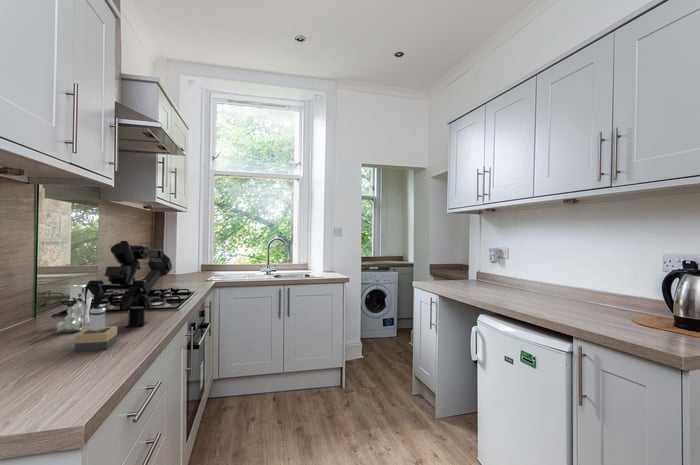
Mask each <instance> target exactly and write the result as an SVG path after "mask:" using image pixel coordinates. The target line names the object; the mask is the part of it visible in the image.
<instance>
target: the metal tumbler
mask: <svg viewBox="0 0 700 465" xmlns="http://www.w3.org/2000/svg"><path fill="white" fill-rule="evenodd" d="M106 314H107V309H106V307H97V308H94V307H92V308H90V310H89V318H90V322H89V328H90V334H91V333H105V327H106V316H107V315H106Z"/></svg>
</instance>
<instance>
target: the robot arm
mask: <svg viewBox="0 0 700 465" xmlns="http://www.w3.org/2000/svg"><path fill="white" fill-rule="evenodd" d="M110 252H111V254H112V256H113V257H114V259H115V261H116V262H117V263H118V264H120V265H119V266H106V269H105V272H104V276H105V277H107V278H108V279H107V281H108V282H109V283H105V282H104V281H103V280H102V279H100V280H99V279H98V280H97V279H96V280H94V279H91V280H89V281H88V282H87V283H86V284H85V285H86V287H87V288H88V289H89V291H90V292H91V293H92V296H93V307H92V308H99V305H100V304H101V302H103V299H104V298H105V296H106V295H105V294H106V293H107V292H108V291H111V290H113V291H124V293H123V294H122V296H121V297H120V303H121V304H120V305H121V310H122V311H123V312H124V311H127V314H128V315H127V323H126V324H125V325H124V328H130V327H131V328H132V327H133V328H134V327H144V326H145V325H146V324H147V323H148V320H146V311H147V310H151V307H152V301H151V299H150V297H149V292H150V291H151V289H152V288H153V287H154V286H155V285H156V284H157V282H158V281H159V280H160V279H161V277H164V276H167V275H168V274H169V273H170V272H171V271H172V270H173V264H172V260H171V258H170V257H169V256H168V255H167V254H165V252H164V250H163V249H159V248H149V246H147V245H146V244H145V245H143V244H141V245H139V244H137V245H136V244H135V245H134V244H129V240H121V241H120V242H118V243H116V244H114V245H113V246H111V248H110ZM147 259H149V261H148V262H147V264H148V268H149V272H148V273H147V274H146V275H145V276H144V277H143V279H136V277H135V275H136V273H137V271H138V270H141V268H142V267H141V265H140V261H144V260H147ZM154 259H160V260H154ZM135 279H136V280H135Z"/></svg>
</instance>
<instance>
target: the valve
mask: <svg viewBox="0 0 700 465" xmlns="http://www.w3.org/2000/svg"><path fill="white" fill-rule="evenodd" d="M58 301H59V304H60V305H61V304H63V305H64V306H66V307H67V308H68V309H66V313H67V314H66V316H65V317H64V320H65V321H59V322H58V323H57V325H56V332H57V333H72V332H74V331H75V332H82V330H83V325H84V324H83V322H82V321H81V320H80V321H74V319H75V317H76V316H74V315H73V314H72V313H74V309H72V307H73V306H74V305H75V304H76V303H77V301H79V302H82V299H81V298H77V299H75V298H72V299H70V298H68V297H67V298H64V299H59V300H58Z"/></svg>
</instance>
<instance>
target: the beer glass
mask: <svg viewBox="0 0 700 465" xmlns="http://www.w3.org/2000/svg"><path fill="white" fill-rule="evenodd" d="M86 285H87V284H76V285H72V286H71V285H70V291H69V299H72V298H75V299H77V298H81V299H82V302H79V301H77V303H76V304H75V305H74V306H73V307H72V309H74V313H72V314H73V315H74V316H76V317H75V319H74V321H80V320H81V321H82V322H83V325H86V324H90V309H91V305H92V304H91V303H92V299H93V294H92V293H91V292H90V291H89V289H88V288H87V287H86Z"/></svg>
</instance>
